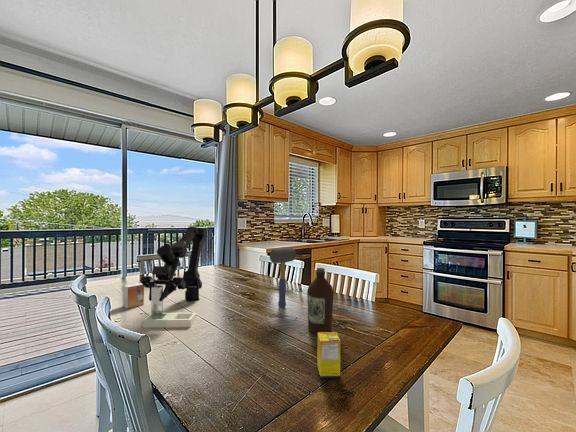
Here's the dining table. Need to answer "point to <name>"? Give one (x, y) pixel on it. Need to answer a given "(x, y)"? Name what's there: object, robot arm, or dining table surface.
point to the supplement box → (328, 355)
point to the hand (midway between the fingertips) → (155, 300)
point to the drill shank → (156, 301)
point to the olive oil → (320, 304)
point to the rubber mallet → (282, 269)
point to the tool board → (169, 320)
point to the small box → (133, 295)
